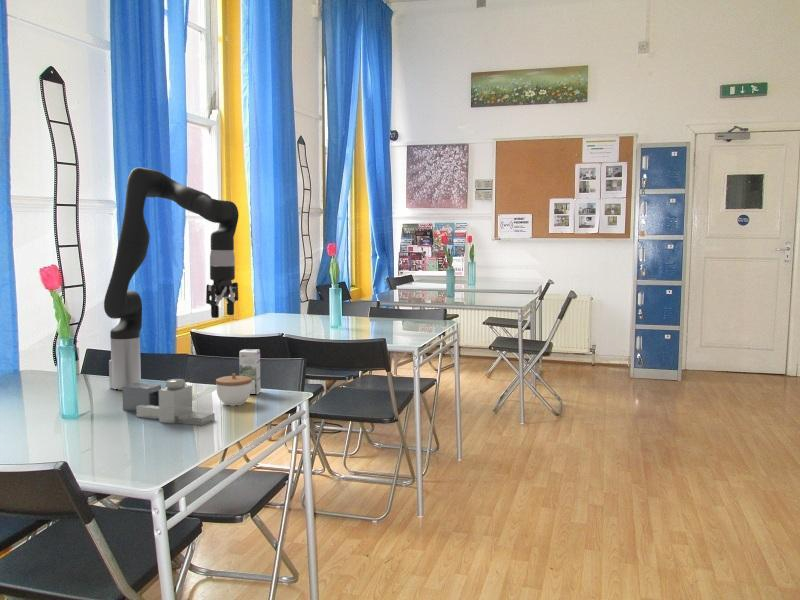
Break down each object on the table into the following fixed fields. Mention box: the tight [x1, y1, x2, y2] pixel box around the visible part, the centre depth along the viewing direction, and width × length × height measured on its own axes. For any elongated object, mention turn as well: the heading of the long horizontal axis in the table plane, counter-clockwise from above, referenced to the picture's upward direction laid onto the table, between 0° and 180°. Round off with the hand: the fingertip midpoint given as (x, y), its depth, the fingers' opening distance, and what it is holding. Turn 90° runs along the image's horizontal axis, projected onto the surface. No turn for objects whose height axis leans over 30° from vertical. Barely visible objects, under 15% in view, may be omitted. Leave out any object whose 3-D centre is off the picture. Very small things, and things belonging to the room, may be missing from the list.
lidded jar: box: [215, 372, 252, 407], centre depth 208 cm, size 11×11×9 cm
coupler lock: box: [121, 382, 162, 412], centre depth 201 cm, size 10×6×7 cm, turn 71°
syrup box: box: [238, 348, 262, 394], centre depth 222 cm, size 6×6×14 cm
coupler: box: [136, 378, 216, 426], centre depth 189 cm, size 23×8×11 cm, turn 71°
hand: (222, 316), depth 212 cm, fingers open, 8 cm apart
